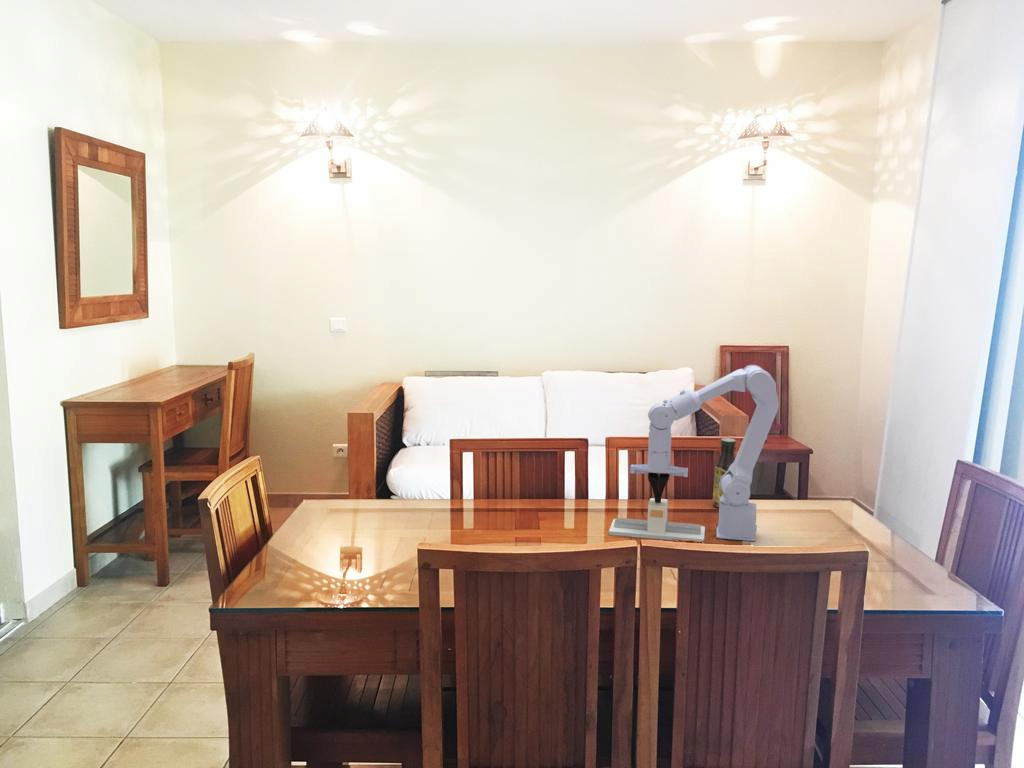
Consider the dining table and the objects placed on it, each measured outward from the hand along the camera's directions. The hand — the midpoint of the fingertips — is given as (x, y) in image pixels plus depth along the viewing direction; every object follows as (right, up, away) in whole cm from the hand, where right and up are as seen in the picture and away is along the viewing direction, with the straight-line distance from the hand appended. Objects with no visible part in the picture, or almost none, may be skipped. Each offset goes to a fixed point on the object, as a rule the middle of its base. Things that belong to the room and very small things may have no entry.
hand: (658, 501), depth 206 cm
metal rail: (0, -8, +1) cm, 8 cm away
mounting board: (0, -8, +1) cm, 8 cm away
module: (0, -7, +1) cm, 7 cm away
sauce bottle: (+23, -5, +23) cm, 33 cm away
